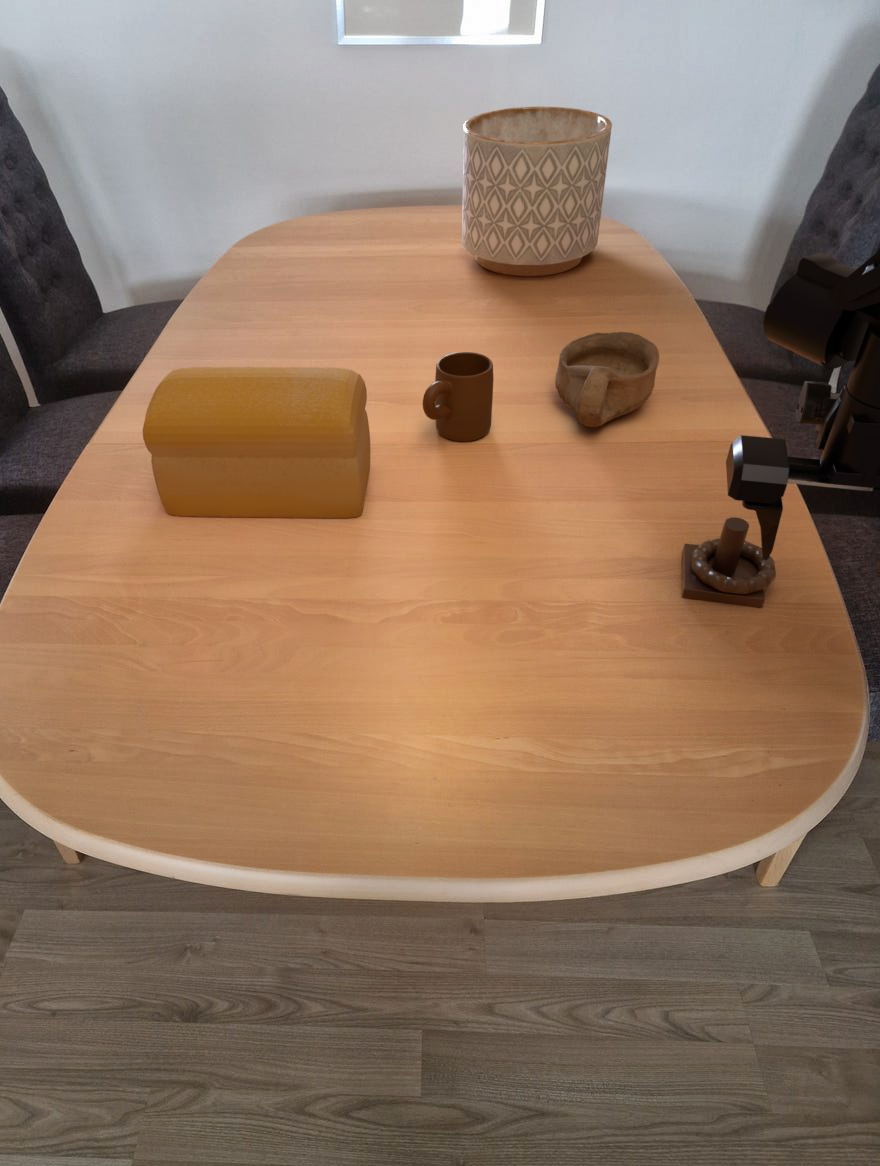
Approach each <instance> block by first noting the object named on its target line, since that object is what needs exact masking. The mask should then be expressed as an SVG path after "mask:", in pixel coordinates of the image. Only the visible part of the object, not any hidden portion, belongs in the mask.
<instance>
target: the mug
mask: <svg viewBox="0 0 880 1166" xmlns="http://www.w3.org/2000/svg"><path fill="white" fill-rule="evenodd" d="M493 398H494V364H493V361H492V360H491V358H489V357H488V356H487V355H484V354H482V353H478V352H474V351H456V352H452V353H448V354H446V355H444V356H442V357H440V358H439V359H438V360H437V362H436V364H435V377H434V382H432V383H431V384H430V385H429V386H428V387H427V388H426V389H425V392H424V394H423V398H422V410H423V413H424V414H425V416H426V417H427V418H429V419H430V420H431V421H432V420H433V421H435V427H436V430H437V432H438V434H439V435H441V436H442V438H445V439H447V440H450V441H453V442H454V441H455V442H463V443H464V442H473V441H477V440H479V439H481V438H483V437H485V436H486V435H487V434H488V433H489V432H490V429H491V426H492V417H493V415H492V414H493V400H494V399H493Z"/></svg>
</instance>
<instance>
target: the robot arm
mask: <svg viewBox="0 0 880 1166" xmlns="http://www.w3.org/2000/svg"><path fill="white" fill-rule="evenodd" d="M762 323H763V325H762V326H763V333H764V335H765V337H766V338H767V340H768V341H770V342H772V343H774V344H776V345H778V346H780V347H783V348H784V349H786V350H789V351H791V352H792V353H795V354H797V355H799V356H801V357H803V358H805V359H808V360H810V361H811V362H814V363H816V364H818V365H820V366H822V367H824V368H826V369H829V370H831V369H832V370H833V369H839V368H840V367H843V366H845V365H847V364H848V363H849V362H854V363H853V366H852V369H851V372H850V375H849V377H848V381H847V384H846V385H843V387H842V389H841V390H840V391H839V393H838V392H837V393H835V392H832V390H833V389H832V388H833V386H832V385H831V384H829V383H828V382H824V381H823V382H821V381H812V380H811V381H809V380H804V383H803V385H802V387H801V390H800V394H799V396H798V400H797V404H796V408H795V414H794V419H795V420H796V421H797V422H798V423H799V424H806V425H807V424H809V425H815V428H814V432H815V433H818V434H817V438H816V442H815V444H816V449H817V450H818V451H823V452H822V454H821V457H820V459H819V458H817V459H816V458H807V457H806V458H805V457H796V456H795V457H794V456H789V455H788V450H787V444H786V443H787V442H786V438H777V437H765V436H754V435H743V434H741V435H740V436H738V437H737V438H736V439H734V440H733V441H732V442H730V445H729V448H728V453H727V456H726V460H725V466H726V467H725V468H726V488H727V490H726V491H727V496H728V497H730V498H731V499H733V500H734V501H739V502H741V505H742V507H743V508H744V509H746V510H750V511H754V512H755V515H756V517H757V520H758V524H759V529H760V544H761V548H762V558H763V560H768V558H769V556H770V557H771V555H772V552H773V551H774V546H775V542H776V538H777V534H778V532H779V531H778V530H779V526H780V523H781V518H782V515H783V510H784V506H783V497H784V495H785V492H786V490H787V486H788V484H790V485H791V484H793V485H803V486H813V487H822V488H823V487H824V488H832V489H842V490H852V491H853V490H854V491H861V492H863V491H864V492H872V491H875V492H880V247H879V248H878V251H877V252H875V253H874V254H873V255H871V257H870V258H868V259H867V260H866V261H865V262H864V263H862V264H861V265H860V266H859V267H857V268H855V267H852V266H849V265H846V264H844V263H842V262H840V261H838V260H837V259H836V258H835V257H833V256H831V255H828V254H827V253H823V252H818V253H815V254H810V255H807V256H806V255H805V256H803V257H801V258H800V259H799V261H798V264H797V268H796V271H795V273H794V274H793V275H792V276H790V277H789V278H788V279H787V280H786V281H785V282H784V283H783V284H782V286H781V287H780V288H779V289H778V290H777V292H776V294H775V296H774V297H773V298H772V301H771V303H769V304H768V305H767V307H766V310H765V312H764V317H763V322H762ZM877 570H878V573H879V574H880V560H879V561H878V564H877Z"/></svg>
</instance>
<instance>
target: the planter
mask: <svg viewBox="0 0 880 1166" xmlns="http://www.w3.org/2000/svg"><path fill="white" fill-rule="evenodd" d="M612 128H613V122H612V121H611V120H610V119H609V118H608V117H607V116H605V115H603V114H601V113H597V112H594V111H590V110H585V109H580V108H573V107H562V106H520V107H519V106H518V107H509V108H508V107H507V108H501V109H495V110H490V111H487V112H482V113H480V114H476V115H473V116H472V117H470V118H469V119H468V120H466V121H465V122H464V124H463V148H462V149H463V151H462V152H463V154H462V155H463V157H462V159H463V160H462V213H461V214H462V216H461V217H462V218H461V219H462V221H461V245H462V246H463V248H464V249H465V251H466V252H468V253H470V254H471V255H472V256H474V259H475V262H476V263H477V264H478V265H479V266H481V268H484V269H486V270H489V271H490V272H493V273H497V274H502V275H508V276H515V277H544V276H552V275H556V274H560V273H564V272H567V271H569V270H572V269H573V268H575V267H577V266H578V265H579V264H580V263H581V261H582V259H583V257H585V256H587V255H588V254H590V253H592V252H593V251H594V250H595V249H596V247H597V246H598V242H599V234H600V225H601V218H602V209H603V200H604V194H605V193H604V192H605V185H606V184H605V182H606V177H607V169H608V161H609V152H610V145H611V144H610V143H611V135H612Z"/></svg>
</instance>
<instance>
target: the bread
mask: <svg viewBox="0 0 880 1166" xmlns="http://www.w3.org/2000/svg"><path fill="white" fill-rule="evenodd" d="M367 398H368V393H367V386H366V382H365V379H363V377H362V375H361V374H360V373H359V372H356V371H355V370H352V369H348V368H343V367H332V366H331V367H326V366H323V367H322V366H320V367H319V366H318V367H317V366H270V367H269V366H238V367H237V366H204V367H203V366H199V367H196V366H195V367H194V366H193V367H182V368H177V369H173V370H171V371H170V372H169V373H168V374H167V375H165V377H163V379H162V380H161V381H160V382H159V384H158V385H157V386H156V388H155V390H154V391H153V394H152V396H151V399H150V401H149V403H148V406H147V408H146V412H145V417H144V422H143V427H142V438H143V443H144V446H145V448H146V449H147V451H148V452H149V454H151V458H150V459H151V461H150V462H151V468H152V473H153V478H154V482H155V486H156V490H157V493H158V496H159V499H160V502H161V504H162V506H163V507H164V509H165V511H166V514H168V515H169V516H175V517H194V518H195V517H199V518H200V517H203V518H204V517H205V518H216V517H217V518H270V519H271V518H275V519H276V518H277V519H278V518H279V519H281V518H282V519H283V518H284V519H288V518H289V519H353V518H358V517H360V516H362V513H363V510H364V504H365V498H366V493H367V487H368V481H369V475H370V470H371V434H370V425H369V423H370V422H369V417H368V413H367V409H366V408H367V407H366V405H367Z"/></svg>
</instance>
